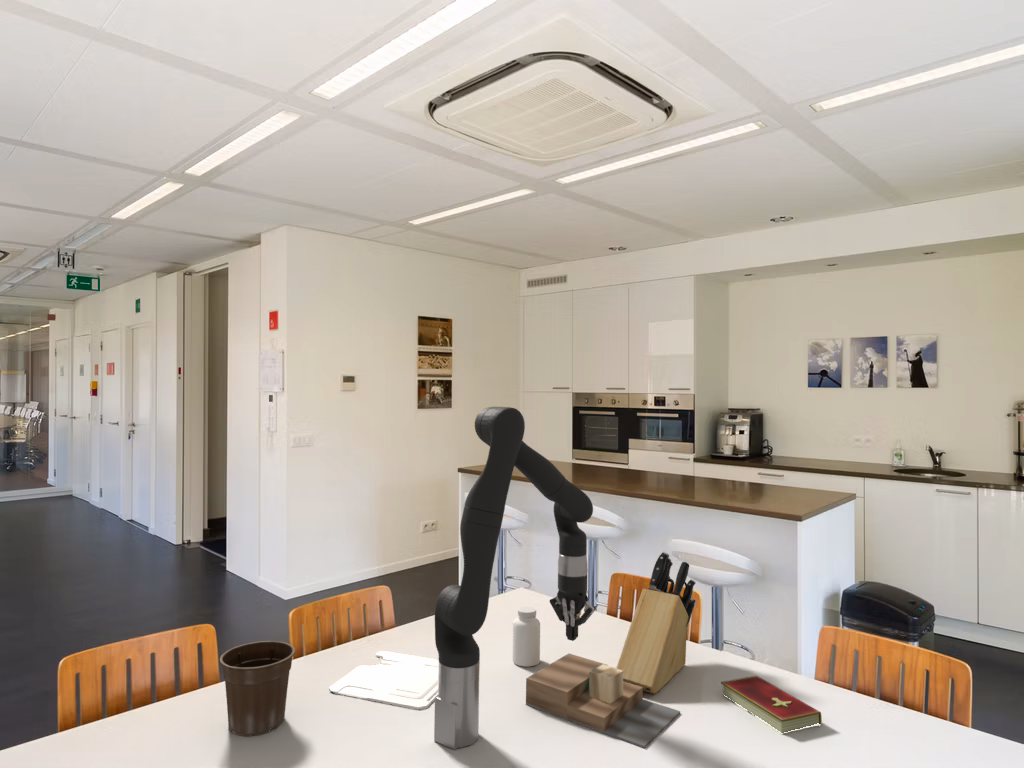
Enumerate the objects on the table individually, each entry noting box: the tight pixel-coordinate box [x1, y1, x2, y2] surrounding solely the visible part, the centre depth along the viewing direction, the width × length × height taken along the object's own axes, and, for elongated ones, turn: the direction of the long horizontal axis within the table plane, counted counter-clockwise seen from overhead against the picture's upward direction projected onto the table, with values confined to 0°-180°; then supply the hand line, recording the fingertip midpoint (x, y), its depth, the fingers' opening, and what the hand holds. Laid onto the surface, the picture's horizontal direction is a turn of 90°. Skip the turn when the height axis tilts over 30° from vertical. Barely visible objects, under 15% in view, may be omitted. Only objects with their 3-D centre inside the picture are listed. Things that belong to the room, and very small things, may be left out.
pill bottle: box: [511, 606, 541, 668], centre depth 188 cm, size 8×8×15 cm
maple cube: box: [589, 663, 623, 704], centre depth 160 cm, size 6×6×6 cm
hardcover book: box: [720, 675, 823, 734], centre depth 161 cm, size 12×21×4 cm, turn 22°
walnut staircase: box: [525, 653, 681, 749], centre depth 160 cm, size 20×32×6 cm, turn 53°
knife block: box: [615, 551, 696, 694], centre depth 183 cm, size 11×35×31 cm, turn 146°
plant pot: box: [219, 640, 296, 737], centre depth 151 cm, size 16×16×16 cm
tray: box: [328, 650, 439, 711], centre depth 176 cm, size 28×28×2 cm
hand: (572, 639), depth 166 cm, fingers closed
